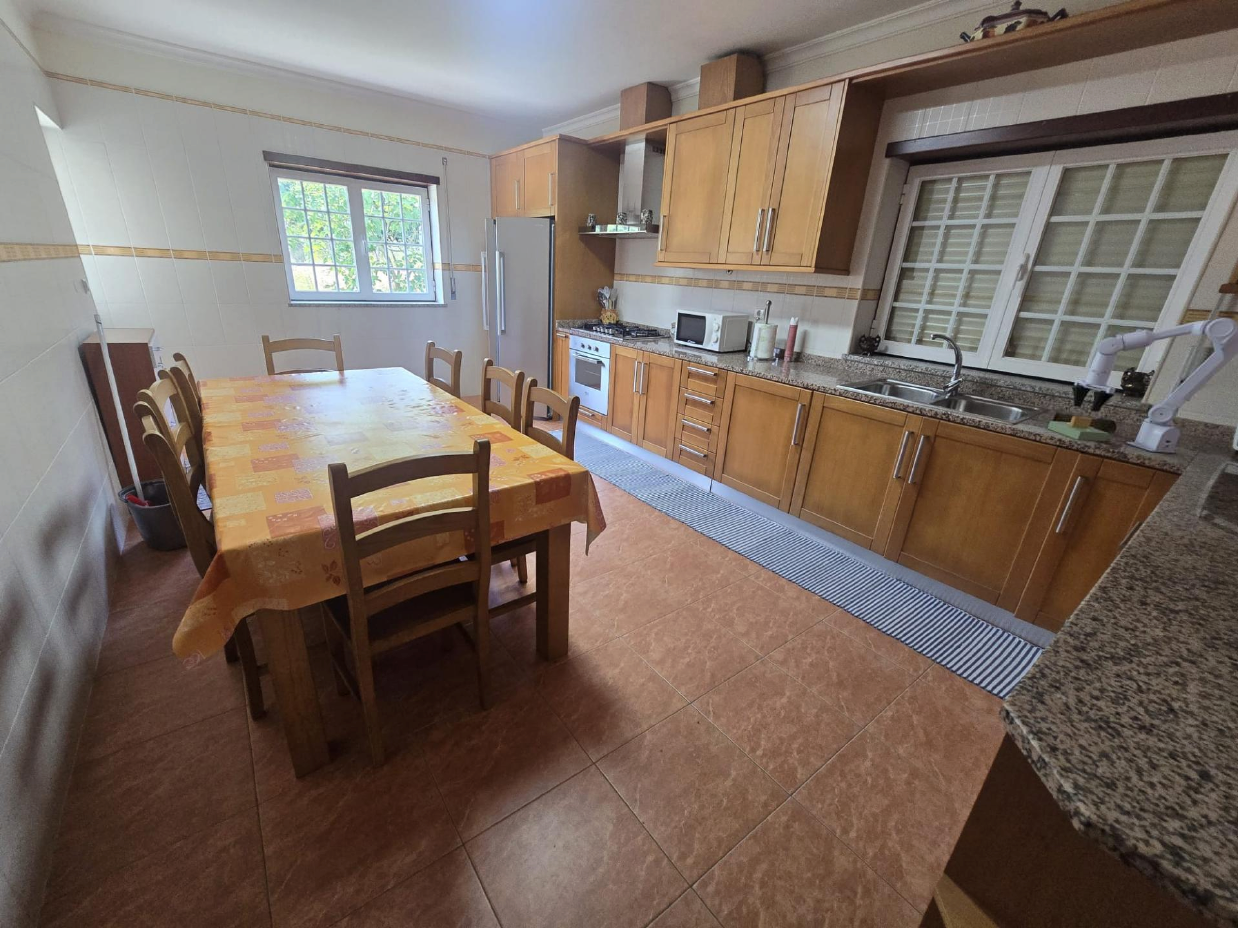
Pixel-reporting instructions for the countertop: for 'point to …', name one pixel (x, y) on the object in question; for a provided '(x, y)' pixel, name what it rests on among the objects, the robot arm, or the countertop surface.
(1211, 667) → the countertop surface
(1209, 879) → the countertop surface
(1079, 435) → the green flat block
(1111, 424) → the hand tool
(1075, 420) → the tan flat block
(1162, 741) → the countertop surface
